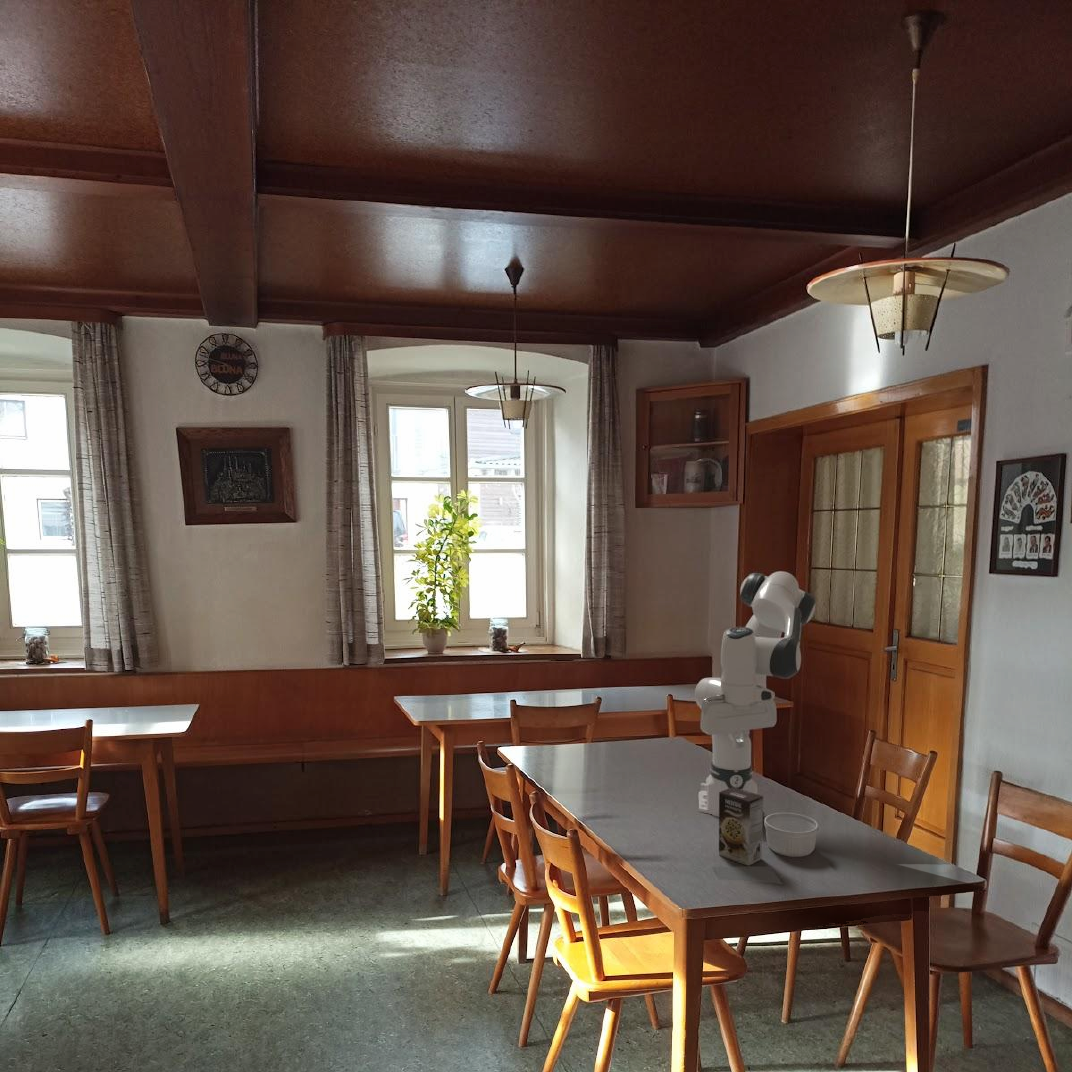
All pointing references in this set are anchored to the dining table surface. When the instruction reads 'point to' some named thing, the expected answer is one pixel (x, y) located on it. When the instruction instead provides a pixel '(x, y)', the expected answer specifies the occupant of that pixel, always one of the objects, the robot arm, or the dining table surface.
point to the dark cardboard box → (740, 825)
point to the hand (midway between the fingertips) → (738, 747)
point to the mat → (747, 874)
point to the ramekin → (791, 834)
